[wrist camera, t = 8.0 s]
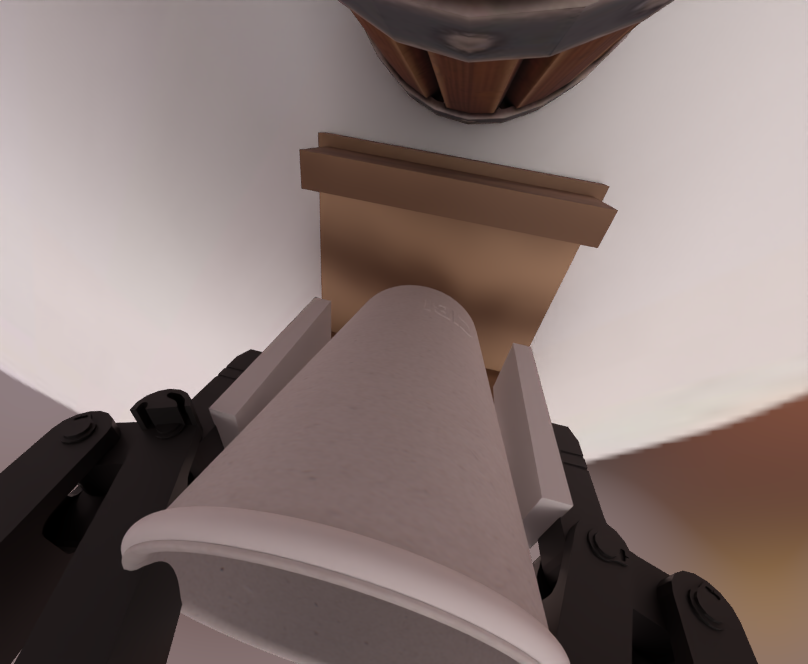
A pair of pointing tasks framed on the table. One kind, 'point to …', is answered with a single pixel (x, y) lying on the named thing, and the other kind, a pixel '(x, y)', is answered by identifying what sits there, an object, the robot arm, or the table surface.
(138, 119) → the table surface
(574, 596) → the robot arm
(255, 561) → the dixie cup
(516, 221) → the rail stand
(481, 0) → the mug
